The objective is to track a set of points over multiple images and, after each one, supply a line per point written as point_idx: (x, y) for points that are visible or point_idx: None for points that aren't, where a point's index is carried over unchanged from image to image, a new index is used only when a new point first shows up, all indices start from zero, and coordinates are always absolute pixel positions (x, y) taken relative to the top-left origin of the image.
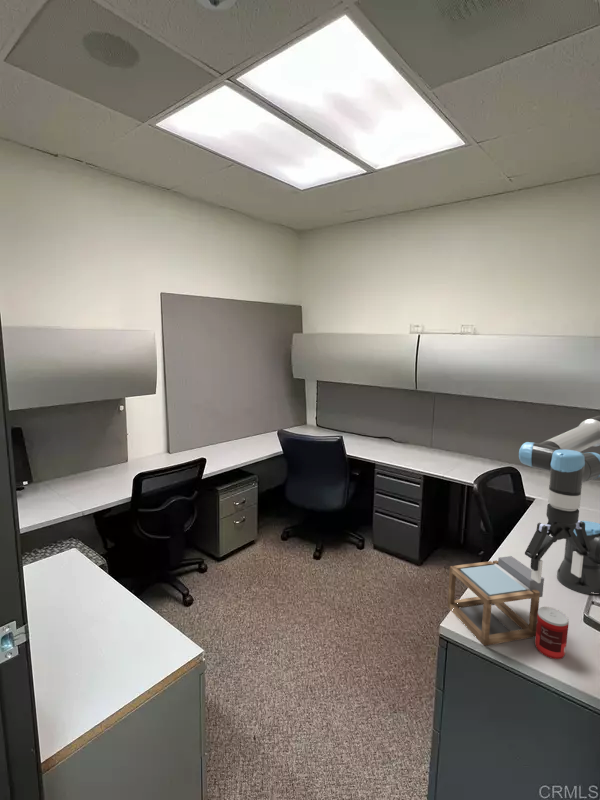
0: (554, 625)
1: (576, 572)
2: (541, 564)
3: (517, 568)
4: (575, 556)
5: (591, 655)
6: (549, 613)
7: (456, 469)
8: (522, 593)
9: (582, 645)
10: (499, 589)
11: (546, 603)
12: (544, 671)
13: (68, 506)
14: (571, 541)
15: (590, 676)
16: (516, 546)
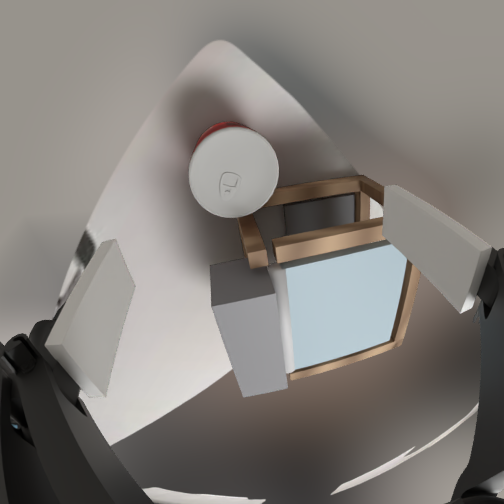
0: (256, 132)
1: (117, 267)
2: (467, 234)
3: (269, 351)
4: (98, 357)
5: (138, 138)
6: (238, 185)
7: (161, 493)
8: (315, 246)
9: (138, 170)
10: (369, 264)
11: (145, 301)
12: (283, 91)
13: None
14: (138, 499)
15: (186, 74)
16: (136, 419)
